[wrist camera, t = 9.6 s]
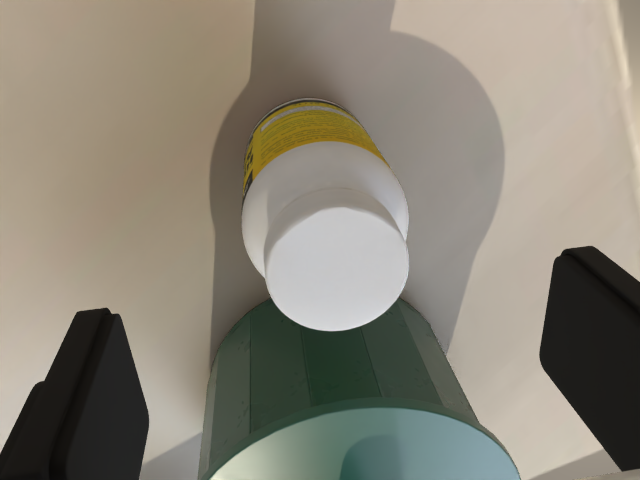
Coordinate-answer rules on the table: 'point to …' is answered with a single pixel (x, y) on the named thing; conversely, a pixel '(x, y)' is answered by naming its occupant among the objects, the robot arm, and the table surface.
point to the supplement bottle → (323, 216)
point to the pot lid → (368, 445)
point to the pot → (319, 371)
